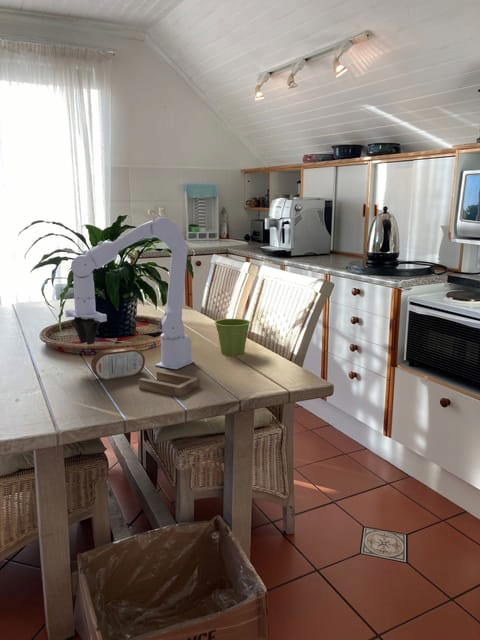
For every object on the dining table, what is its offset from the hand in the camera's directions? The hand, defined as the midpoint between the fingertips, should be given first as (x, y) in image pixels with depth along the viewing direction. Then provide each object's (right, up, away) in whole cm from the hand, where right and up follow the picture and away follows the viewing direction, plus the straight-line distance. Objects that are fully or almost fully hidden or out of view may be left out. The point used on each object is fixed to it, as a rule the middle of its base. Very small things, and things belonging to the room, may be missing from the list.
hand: (87, 343), depth 154 cm
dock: (+25, -11, -12) cm, 30 cm away
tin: (+10, -10, -4) cm, 15 cm away
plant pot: (+42, -5, +19) cm, 46 cm away
